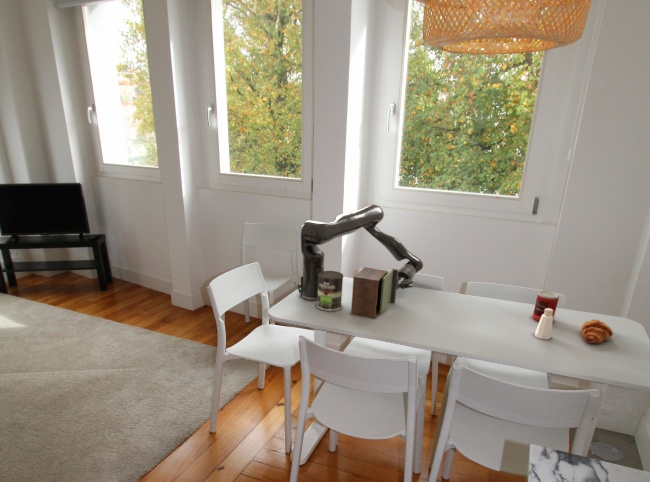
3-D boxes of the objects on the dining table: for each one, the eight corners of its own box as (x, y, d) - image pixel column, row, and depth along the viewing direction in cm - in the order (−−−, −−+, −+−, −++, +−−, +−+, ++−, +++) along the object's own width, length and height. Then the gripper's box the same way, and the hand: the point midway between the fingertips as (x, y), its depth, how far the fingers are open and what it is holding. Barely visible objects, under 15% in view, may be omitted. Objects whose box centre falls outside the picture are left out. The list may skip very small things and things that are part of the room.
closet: (384, 306, 198) (388, 270, 191) (374, 318, 186) (378, 280, 180) (362, 302, 202) (364, 267, 195) (351, 314, 190) (353, 276, 183)
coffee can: (336, 312, 191) (338, 280, 185) (313, 308, 194) (314, 276, 189) (344, 304, 200) (346, 272, 194) (322, 300, 203) (323, 269, 197)
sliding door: (395, 303, 201) (398, 269, 195) (385, 314, 189) (389, 279, 183) (389, 301, 202) (392, 268, 196) (379, 313, 190) (382, 278, 184)
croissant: (589, 333, 186) (583, 314, 185) (618, 329, 179) (612, 309, 178) (578, 351, 170) (572, 330, 170) (609, 347, 164) (603, 325, 163)
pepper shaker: (549, 341, 171) (556, 313, 167) (533, 337, 174) (540, 310, 169) (551, 335, 175) (558, 308, 171) (535, 332, 178) (542, 305, 173)
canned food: (552, 317, 191) (559, 292, 187) (553, 324, 185) (559, 298, 180) (532, 314, 194) (538, 289, 190) (531, 321, 188) (538, 295, 183)
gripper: (417, 286, 212) (407, 299, 198) (388, 282, 217) (377, 293, 203) (419, 271, 209) (409, 282, 195) (390, 266, 214) (379, 277, 200)
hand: (393, 288), depth 199 cm, fingers closed
